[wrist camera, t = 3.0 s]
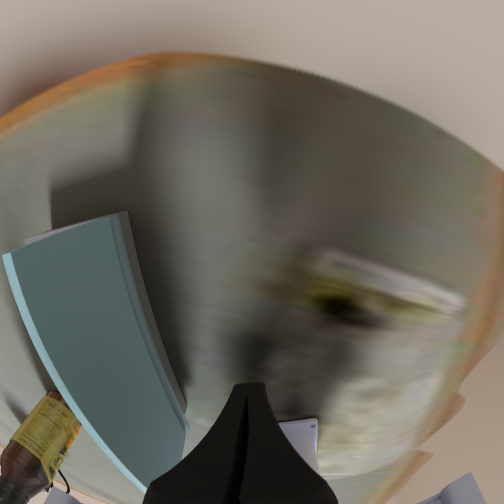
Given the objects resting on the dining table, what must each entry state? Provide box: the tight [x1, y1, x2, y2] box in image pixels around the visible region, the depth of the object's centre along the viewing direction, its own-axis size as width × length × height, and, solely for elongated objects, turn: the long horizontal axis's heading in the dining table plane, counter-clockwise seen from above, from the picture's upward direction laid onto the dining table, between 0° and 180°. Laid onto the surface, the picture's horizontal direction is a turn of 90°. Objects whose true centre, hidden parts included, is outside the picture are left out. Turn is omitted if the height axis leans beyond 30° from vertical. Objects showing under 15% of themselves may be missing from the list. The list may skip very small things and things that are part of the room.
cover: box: [2, 214, 190, 493], centre depth 13 cm, size 18×9×1 cm
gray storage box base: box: [24, 210, 187, 415], centre depth 18 cm, size 18×8×4 cm, turn 8°
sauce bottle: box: [0, 391, 82, 504], centre depth 14 cm, size 6×6×20 cm
